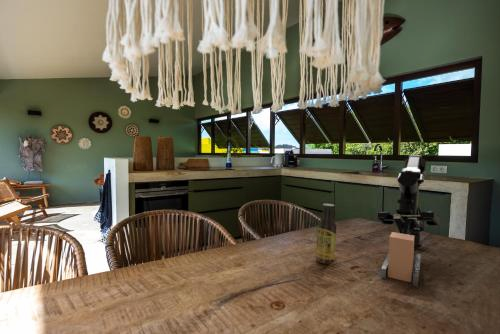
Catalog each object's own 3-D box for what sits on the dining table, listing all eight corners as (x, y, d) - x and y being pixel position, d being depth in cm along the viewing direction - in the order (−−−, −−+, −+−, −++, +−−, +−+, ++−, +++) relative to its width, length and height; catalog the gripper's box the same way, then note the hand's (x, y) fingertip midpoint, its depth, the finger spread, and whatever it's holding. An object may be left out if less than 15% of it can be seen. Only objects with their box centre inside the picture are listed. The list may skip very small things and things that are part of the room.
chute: (389, 259, 97) (390, 248, 97) (420, 266, 92) (420, 254, 92) (380, 281, 81) (381, 268, 81) (417, 290, 76) (418, 276, 76)
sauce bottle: (312, 261, 95) (314, 204, 94) (321, 256, 100) (322, 201, 99) (330, 266, 91) (332, 207, 90) (338, 261, 95) (340, 204, 94)
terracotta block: (390, 269, 86) (392, 232, 86) (412, 274, 83) (414, 235, 82) (387, 276, 81) (389, 236, 81) (411, 282, 78) (413, 240, 77)
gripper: (445, 210, 98) (444, 253, 91) (391, 211, 112) (386, 248, 105) (434, 194, 92) (431, 239, 85) (378, 197, 106) (372, 235, 99)
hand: (403, 241), depth 94 cm, fingers closed
